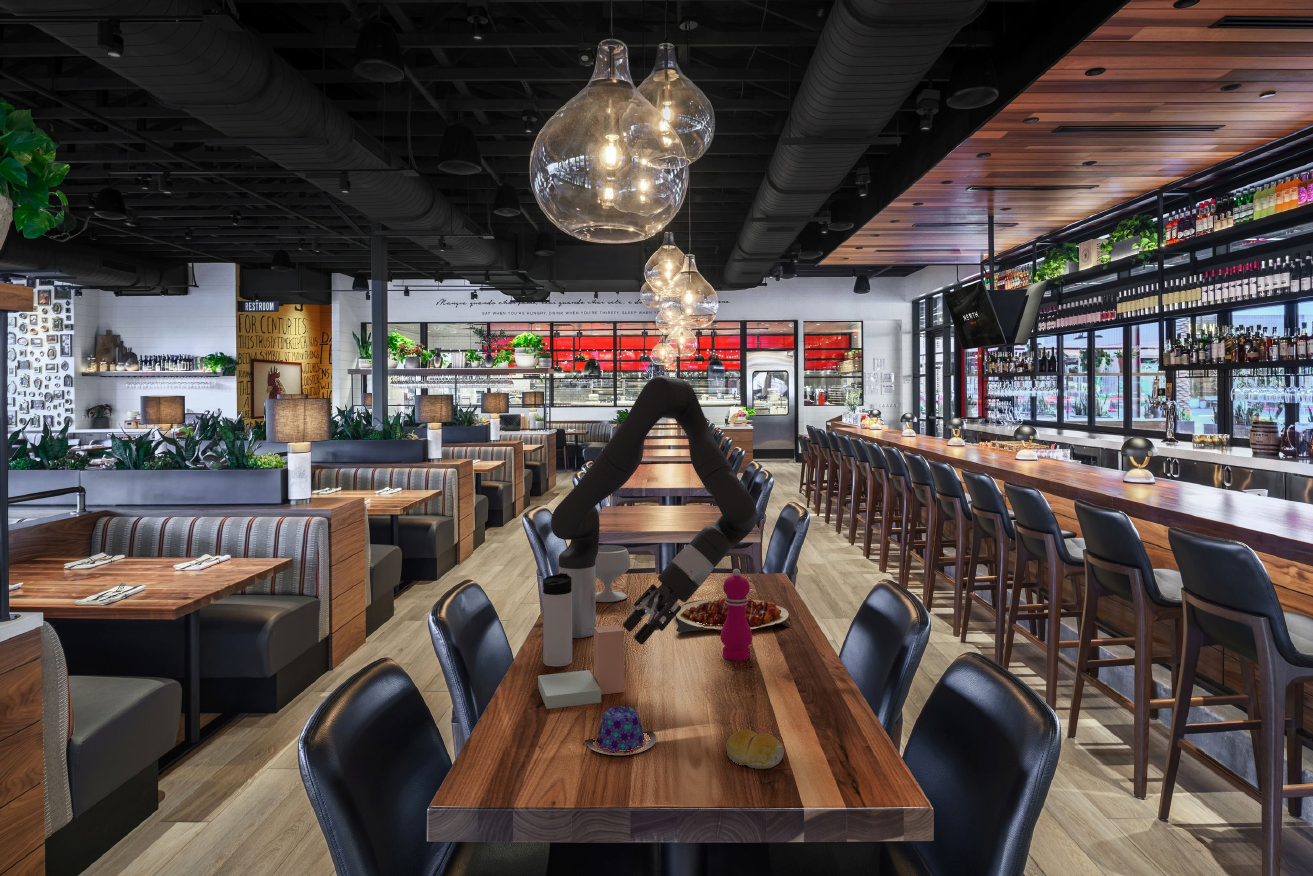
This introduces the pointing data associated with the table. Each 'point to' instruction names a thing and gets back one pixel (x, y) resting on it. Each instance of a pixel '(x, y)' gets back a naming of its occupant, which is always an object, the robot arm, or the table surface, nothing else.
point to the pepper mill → (736, 619)
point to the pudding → (621, 731)
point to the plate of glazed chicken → (718, 611)
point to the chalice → (611, 570)
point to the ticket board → (569, 689)
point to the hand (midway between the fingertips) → (631, 635)
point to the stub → (609, 658)
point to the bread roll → (754, 749)
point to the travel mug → (557, 620)
